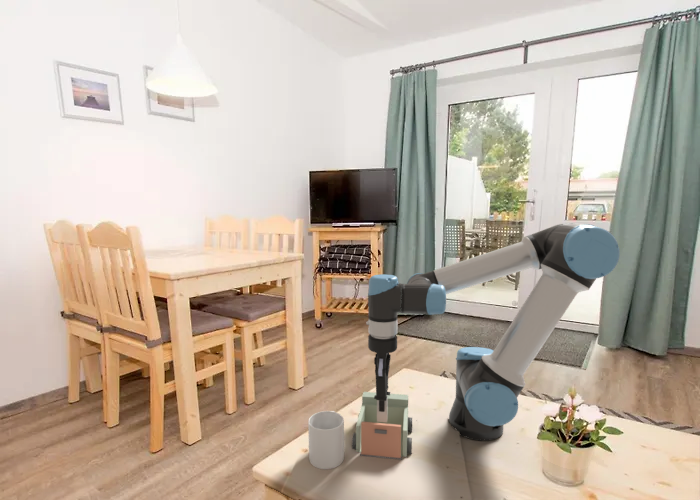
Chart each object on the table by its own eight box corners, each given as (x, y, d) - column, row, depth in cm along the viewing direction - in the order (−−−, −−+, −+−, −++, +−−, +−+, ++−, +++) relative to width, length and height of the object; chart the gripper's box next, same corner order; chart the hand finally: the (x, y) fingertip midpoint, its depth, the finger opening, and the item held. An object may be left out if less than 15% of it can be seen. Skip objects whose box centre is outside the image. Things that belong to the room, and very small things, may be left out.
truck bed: (412, 428, 114) (412, 395, 113) (411, 460, 99) (411, 423, 98) (359, 423, 116) (359, 391, 115) (351, 454, 102) (351, 418, 100)
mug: (340, 475, 94) (340, 431, 93) (305, 471, 95) (304, 428, 94) (348, 445, 106) (348, 406, 105) (316, 442, 107) (316, 403, 106)
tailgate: (401, 459, 99) (401, 424, 99) (401, 462, 97) (401, 428, 97) (360, 454, 101) (361, 421, 100) (360, 458, 99) (360, 424, 99)
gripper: (371, 326, 109) (371, 406, 111) (364, 342, 96) (364, 432, 98) (398, 327, 107) (397, 409, 110) (395, 343, 94) (394, 435, 97)
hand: (382, 420), depth 104 cm, fingers closed
